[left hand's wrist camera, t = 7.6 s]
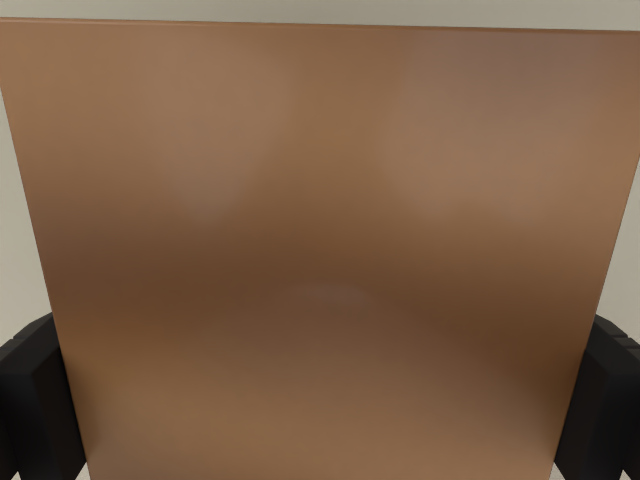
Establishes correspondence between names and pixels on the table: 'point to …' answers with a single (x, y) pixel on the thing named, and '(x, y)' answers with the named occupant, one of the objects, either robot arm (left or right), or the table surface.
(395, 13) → the table surface
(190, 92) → the wide beam
